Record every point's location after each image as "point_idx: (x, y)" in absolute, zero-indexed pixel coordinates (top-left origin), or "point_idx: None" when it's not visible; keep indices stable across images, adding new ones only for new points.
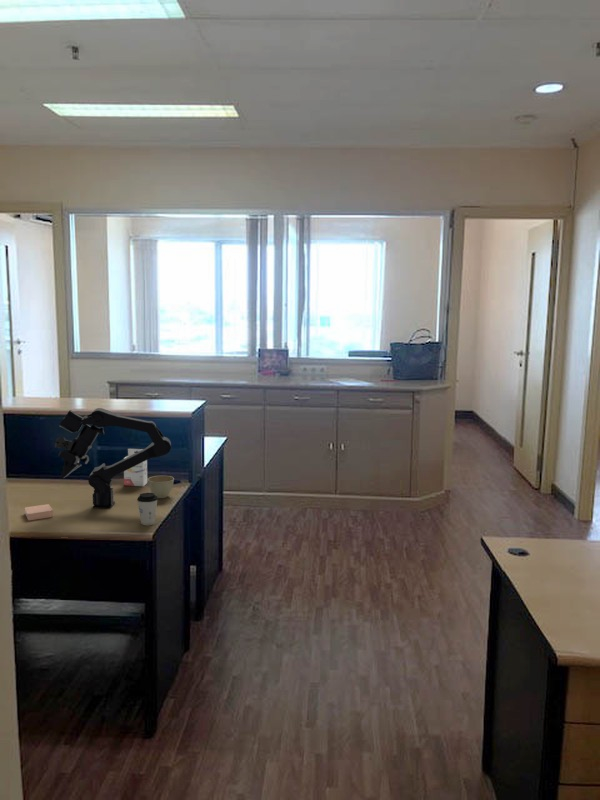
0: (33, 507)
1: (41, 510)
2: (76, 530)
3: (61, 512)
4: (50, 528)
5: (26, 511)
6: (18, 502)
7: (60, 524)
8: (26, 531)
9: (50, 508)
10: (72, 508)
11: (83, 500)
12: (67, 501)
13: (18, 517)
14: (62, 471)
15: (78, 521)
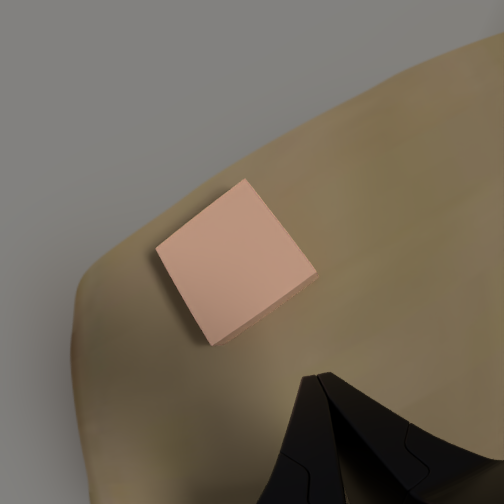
0: (248, 219)
1: (205, 286)
2: (101, 473)
3: (290, 359)
4: (101, 384)
5: (196, 217)
6: (391, 90)
7: (138, 410)
8: (76, 309)
9: (240, 320)
10: (359, 387)
11: (488, 374)
12: (466, 299)
13: (204, 193)
14: (291, 422)
15: (178, 471)
